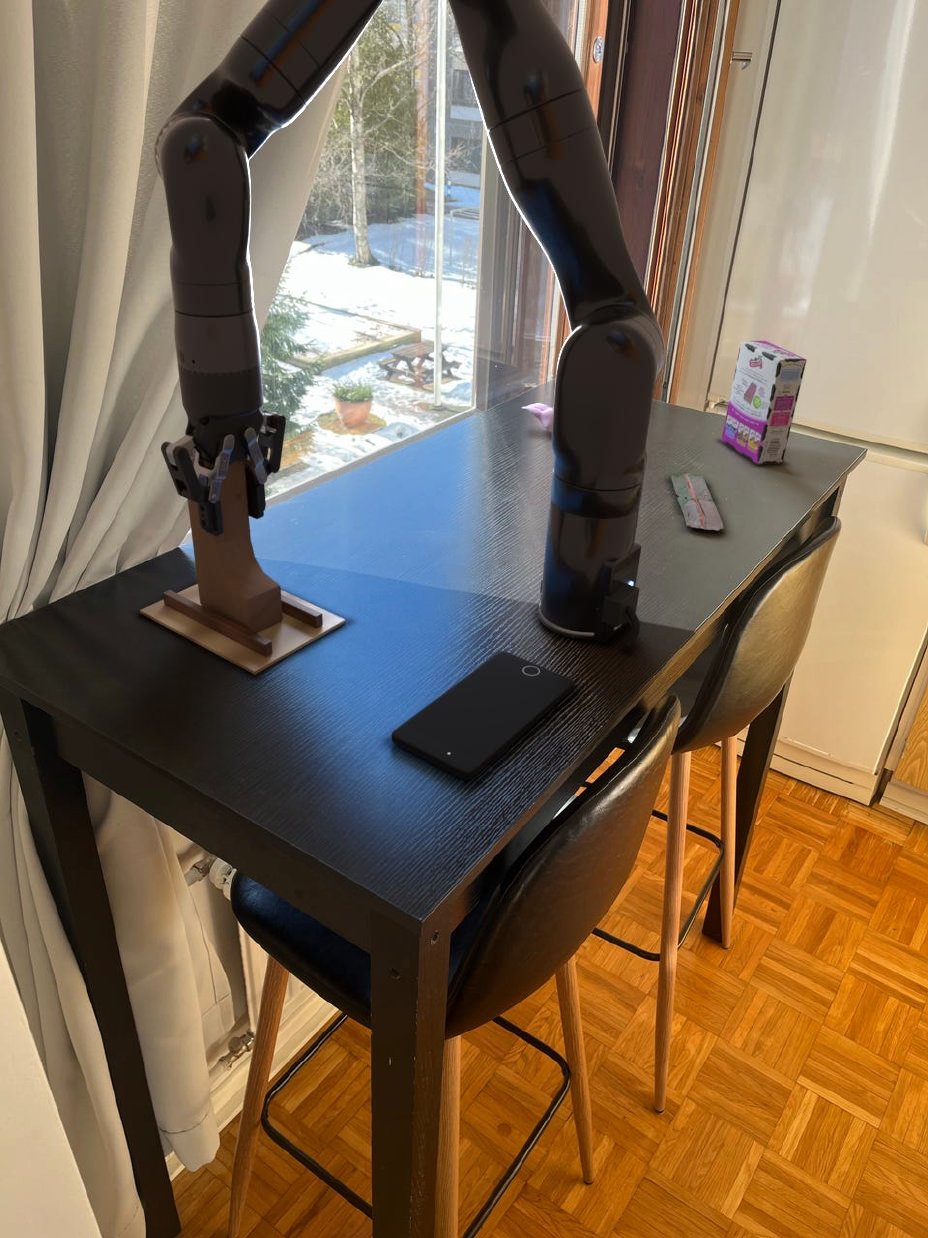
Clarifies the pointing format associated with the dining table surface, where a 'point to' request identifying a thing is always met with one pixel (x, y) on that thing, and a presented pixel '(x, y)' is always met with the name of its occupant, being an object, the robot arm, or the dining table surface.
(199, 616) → the guide
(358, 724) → the dining table surface
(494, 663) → the cell phone
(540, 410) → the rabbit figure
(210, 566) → the wooden block
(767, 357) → the candy bar box
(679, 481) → the map
